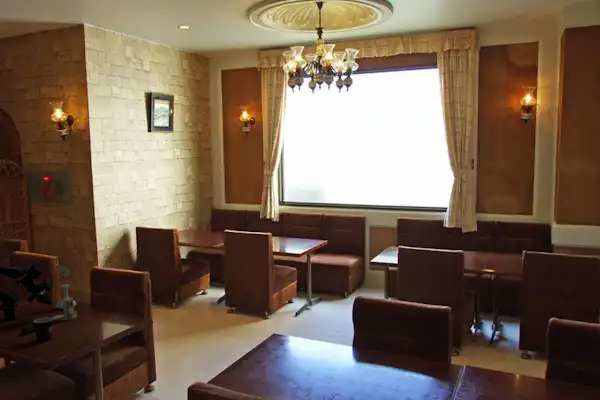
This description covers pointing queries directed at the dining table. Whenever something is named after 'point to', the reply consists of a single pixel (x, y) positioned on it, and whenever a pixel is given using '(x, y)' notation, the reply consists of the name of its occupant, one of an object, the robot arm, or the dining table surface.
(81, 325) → the dining table surface
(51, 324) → the coffee mug
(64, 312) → the sliding jaw
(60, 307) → the flower in vase
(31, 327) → the hand tool
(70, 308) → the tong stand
